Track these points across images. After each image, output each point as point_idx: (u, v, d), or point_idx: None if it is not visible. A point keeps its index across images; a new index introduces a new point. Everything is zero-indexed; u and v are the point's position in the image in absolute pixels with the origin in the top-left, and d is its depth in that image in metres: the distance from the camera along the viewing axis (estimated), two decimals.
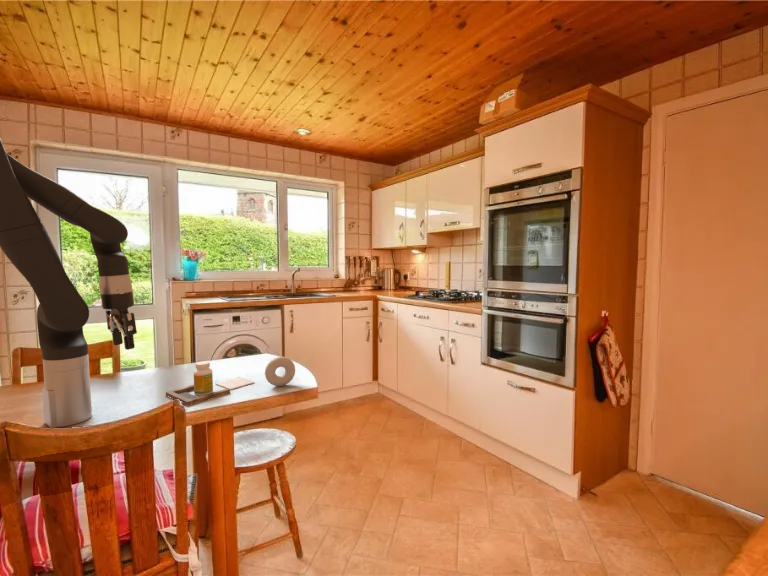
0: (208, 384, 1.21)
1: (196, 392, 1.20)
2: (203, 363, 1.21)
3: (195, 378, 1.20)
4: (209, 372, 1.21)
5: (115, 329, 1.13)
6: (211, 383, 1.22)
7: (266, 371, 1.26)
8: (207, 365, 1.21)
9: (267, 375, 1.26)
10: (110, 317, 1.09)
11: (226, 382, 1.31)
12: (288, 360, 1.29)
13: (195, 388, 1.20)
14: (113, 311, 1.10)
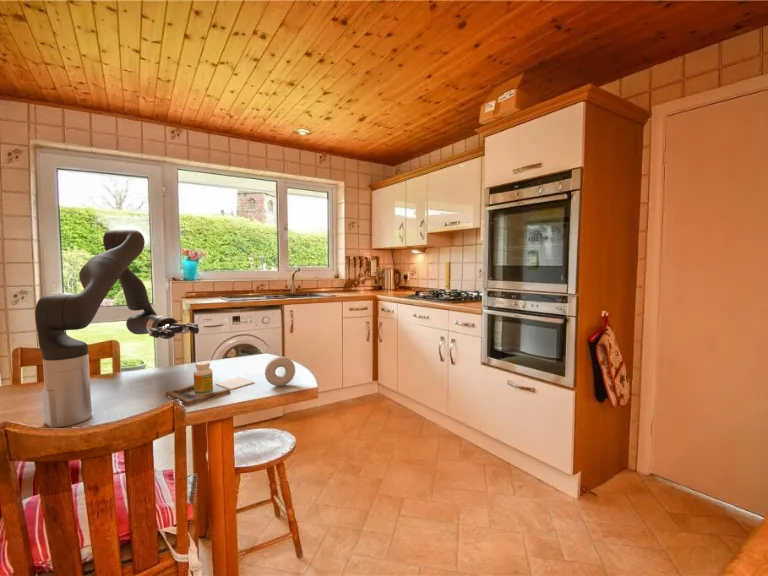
0: (208, 384, 1.21)
1: (196, 392, 1.20)
2: (203, 363, 1.21)
3: (195, 378, 1.20)
4: (209, 372, 1.21)
5: None
6: (211, 383, 1.22)
7: (266, 371, 1.26)
8: (207, 365, 1.21)
9: (267, 375, 1.26)
10: (168, 324, 1.32)
11: (226, 382, 1.31)
12: (288, 360, 1.29)
13: (195, 388, 1.20)
14: None
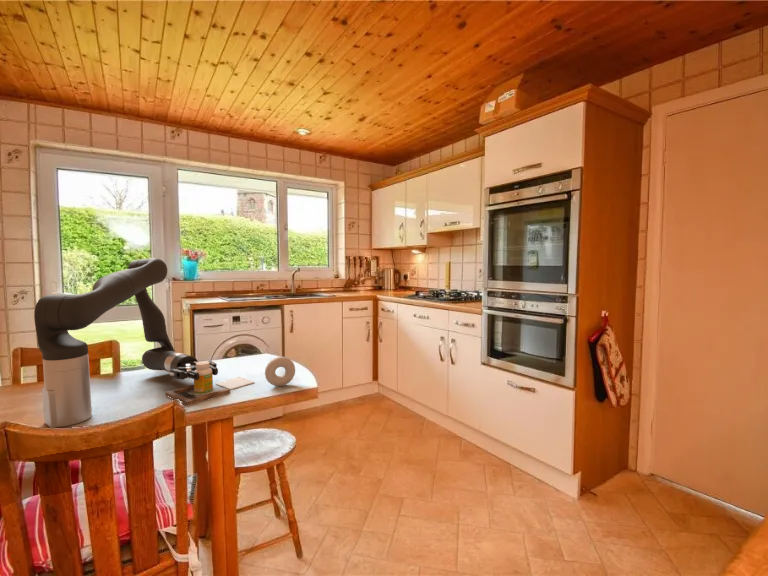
0: (208, 384, 1.21)
1: (196, 392, 1.20)
2: (203, 363, 1.21)
3: None
4: (209, 372, 1.21)
5: None
6: (211, 383, 1.22)
7: (266, 371, 1.26)
8: (207, 365, 1.21)
9: (267, 375, 1.26)
10: (188, 363, 1.25)
11: (226, 382, 1.31)
12: (288, 360, 1.29)
13: (195, 388, 1.20)
14: (186, 365, 1.26)
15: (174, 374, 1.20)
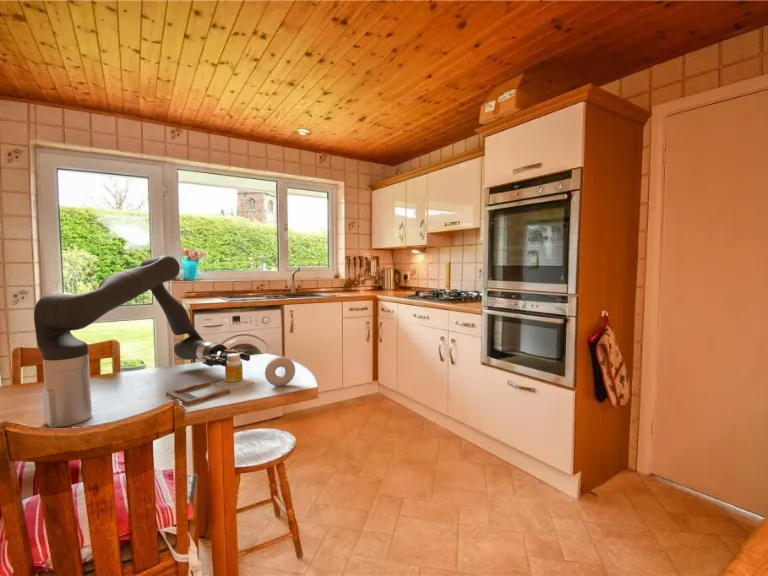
0: (239, 374, 1.30)
1: (228, 382, 1.29)
2: (234, 355, 1.30)
3: (226, 368, 1.29)
4: (239, 363, 1.30)
5: None
6: (241, 373, 1.31)
7: (266, 371, 1.26)
8: (238, 357, 1.30)
9: (267, 375, 1.26)
10: (219, 351, 1.34)
11: None
12: (288, 360, 1.29)
13: (227, 378, 1.29)
14: None
15: (205, 361, 1.29)
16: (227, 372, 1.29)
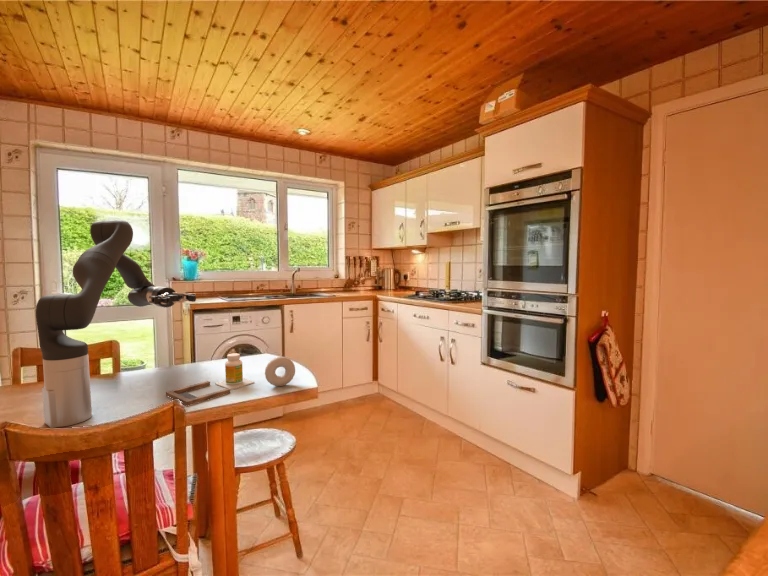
0: (239, 374, 1.30)
1: (228, 382, 1.29)
2: (234, 355, 1.30)
3: (226, 368, 1.29)
4: (240, 363, 1.30)
5: None
6: (241, 373, 1.31)
7: (266, 371, 1.26)
8: (238, 357, 1.30)
9: (267, 375, 1.26)
10: (166, 292, 1.40)
11: None
12: (288, 360, 1.29)
13: (227, 378, 1.29)
14: None
15: (151, 299, 1.35)
16: (227, 372, 1.29)
